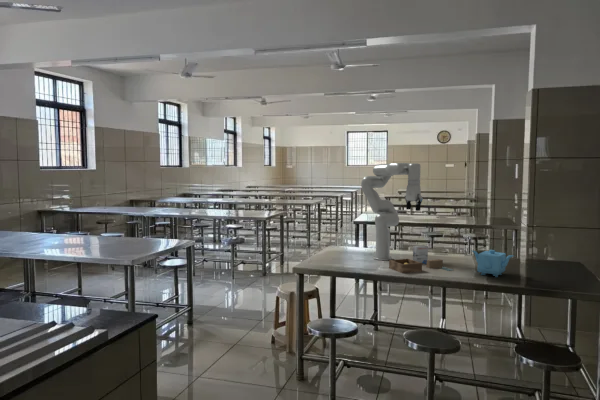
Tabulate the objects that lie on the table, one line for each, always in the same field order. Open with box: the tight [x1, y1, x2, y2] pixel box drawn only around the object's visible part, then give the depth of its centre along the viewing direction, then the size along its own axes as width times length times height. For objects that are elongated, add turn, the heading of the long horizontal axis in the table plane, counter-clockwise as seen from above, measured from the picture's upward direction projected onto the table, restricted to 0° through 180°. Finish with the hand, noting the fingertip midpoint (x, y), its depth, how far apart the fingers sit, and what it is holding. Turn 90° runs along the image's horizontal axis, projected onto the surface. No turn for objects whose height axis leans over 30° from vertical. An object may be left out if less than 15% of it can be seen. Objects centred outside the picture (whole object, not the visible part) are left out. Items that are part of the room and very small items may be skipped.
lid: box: [425, 258, 453, 272], centre depth 289 cm, size 16×16×6 cm
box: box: [388, 258, 423, 274], centre depth 281 cm, size 14×14×6 cm
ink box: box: [412, 244, 429, 265], centre depth 304 cm, size 9×5×12 cm, turn 105°
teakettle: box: [470, 249, 514, 278], centre depth 274 cm, size 19×19×15 cm
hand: (413, 210), depth 292 cm, fingers open, 9 cm apart
